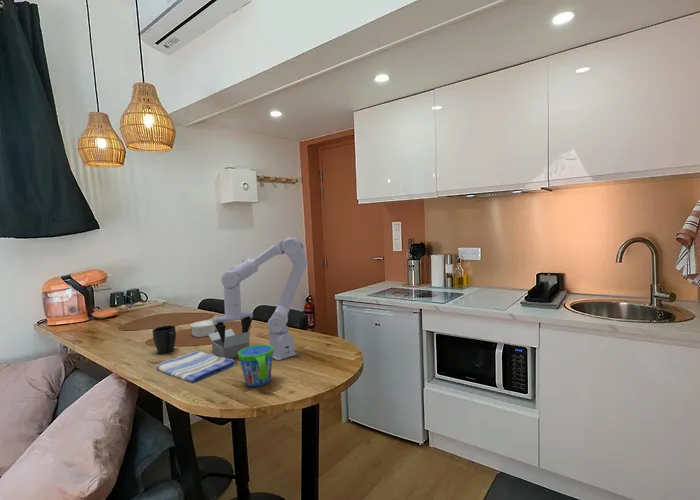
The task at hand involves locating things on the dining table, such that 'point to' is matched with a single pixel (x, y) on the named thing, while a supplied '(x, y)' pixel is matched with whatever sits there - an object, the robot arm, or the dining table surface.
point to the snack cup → (256, 364)
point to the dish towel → (195, 366)
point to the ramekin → (202, 328)
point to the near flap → (236, 339)
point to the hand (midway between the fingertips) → (234, 340)
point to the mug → (164, 339)
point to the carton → (227, 349)
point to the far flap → (216, 335)
